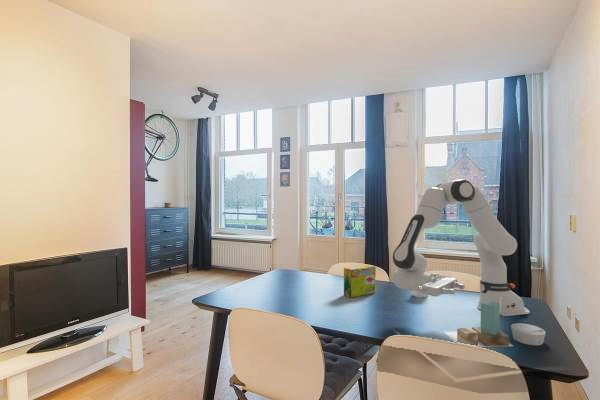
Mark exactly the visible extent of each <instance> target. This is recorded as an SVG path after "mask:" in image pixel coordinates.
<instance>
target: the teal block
mask: <svg viewBox="0 0 600 400" xmlns="http://www.w3.org/2000/svg"><path fill="white" fill-rule="evenodd" d="M500 316H501V315H500V303H496V302H491V301H486V300H485V301H484V302H482V303H481V310H480V327H481V332H484V333H488V334H492V335H496V334H497V333H499V330H500V325H501V324H500V323H501V321H500Z"/></svg>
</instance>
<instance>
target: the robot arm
mask: <svg viewBox="0 0 600 400" xmlns="http://www.w3.org/2000/svg"><path fill="white" fill-rule="evenodd" d="M457 203H460V205H462V207H463V211H464V212H465V215H466V217H467V218H468V220H469V223H470V224H471V227H473V228H474V229H475V230H476V232H475V233H474V235H473V237H472V241H473V244H474V245H475V247H476V250H477V253H478V257H479V262H480V280H479V292H480V293H479V294H480V295H479V300H478V303H477V305H476V307H477V309H478V310H479V311H481V303H482V302H484V301H485V300H486V301H491V302H496V303H500V316H502V317H511V316H512V317H513V316H520V315H529V314H530V313H531V312H530V310H529V309H528V308H527V307H525V305H524V300H523V299H522V298H521V297H520V296H519V295H518V294H516V293H515V292H513V291H512V290H511V288H512V289H515V287H516V285H515V284H514V283H509V282H508V280H507V279H508V278H507V277H508V275H507V273H508V272H507V271H508V270H507V269H508V267H507V264H506V263H505V261H504V259H503V256H510V255H513V254H515V252H516V250H517V249H518V242H517V240H516V238H515V237H514V236H513V235H511V234H510V233H509V232H508V231H507V229H505V227H504V226H503V225H502V224H501V222H500V221H499V220H498V218H497V217H496V215H495V214H494V212H493V209H492V208H491V205H490V204H489V201H488V200H487V198H486V196H485V195H484V194H483V192H482V190H480V188H479V187H477V186H476V185H473V184H472V182H470V181H468V180H467V179H455V180H454V179H453V180H449V181H446V182H441V183H439V184H438V185H436V186H434V187H433V186H432V187H428V188H427V189H426V190H425V191H424V193H423V195H422V197H421V200H420V201H419V204H418V206H417V210H416V212H415V213H414V214H415V215H414V216H412V217H411V219H410V221H409V223H408V225H407V227H406V229H405V231H404V233H403V235H402V238H401V240H400V242H399V244H398V245H397V246H396V247H395V249H394V250H393V253H392V261H393V264H394V265H395V266H396V267H397V269H395V270H393V272H392V281H393V284H394V285H395V286H396V287H397V288H399V289H402V290H406V291H411V292H412V291H417V292H419V293H424V294H427V295H428V296H431V297H439V296H442V295H454V294H456V290H455V289H459V290H464V289H465V284H464V283H460V282H458V279H457V278H456V277H452V276H449V275H448V276H447V275H443V274H441V275H440V273H435V272H433V273H428V272H427V273H426V272H425V271H426V269H427V268H426V267H427V259H426V257H425V256H424V255H423V254H422V253H420V252H418V251H416V250H415V246H416V244H417V243H418V242H417V241H418V239H419V237H420V234H421V233H422V232H423V230H425V229H433V228H434V227H436V226H437V225H438V224H439V223H440V221H441V218H442V215H443V212H444V207H445V205H453V204H454V205H455V204H457Z"/></svg>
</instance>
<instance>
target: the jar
mask: <svg viewBox="0 0 600 400" xmlns="http://www.w3.org/2000/svg"><path fill="white" fill-rule="evenodd" d="M411 296H413V297H415V298H423V299H424V298H427V297H428V296H429V295H427V294H424V293H419V292H417V291H411Z"/></svg>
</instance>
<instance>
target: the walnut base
mask: <svg viewBox="0 0 600 400" xmlns="http://www.w3.org/2000/svg"><path fill="white" fill-rule="evenodd" d="M471 329H473V330H474V331H476V332H478V341H479V342H481V343H482V344H483V345H485V346H502V347H510V346H509V343H510V336H509V335H508V334H506V333H505V332H503V331H502V330H500V329H499V333H497V334H496V335H492V334H488V333H484V332H481V326H472V328H471Z"/></svg>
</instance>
